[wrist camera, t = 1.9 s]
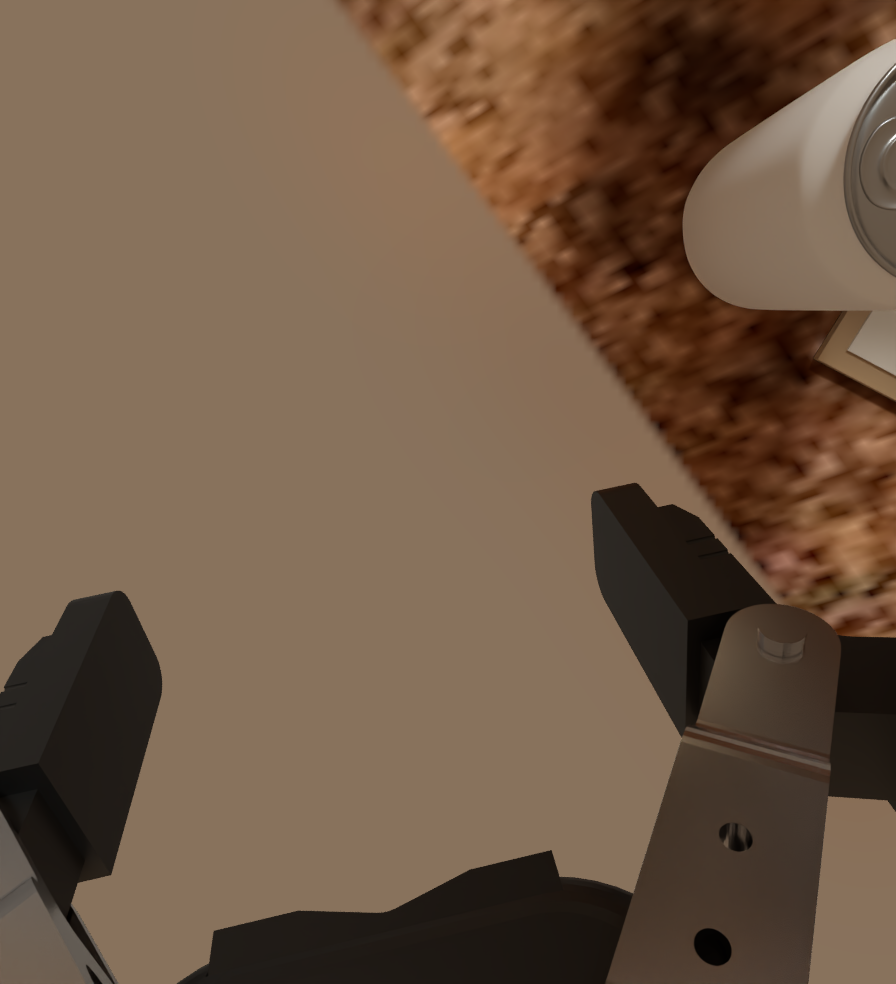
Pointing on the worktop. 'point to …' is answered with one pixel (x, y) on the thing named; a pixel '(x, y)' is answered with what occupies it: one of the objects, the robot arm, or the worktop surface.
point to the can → (805, 201)
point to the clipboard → (863, 349)
